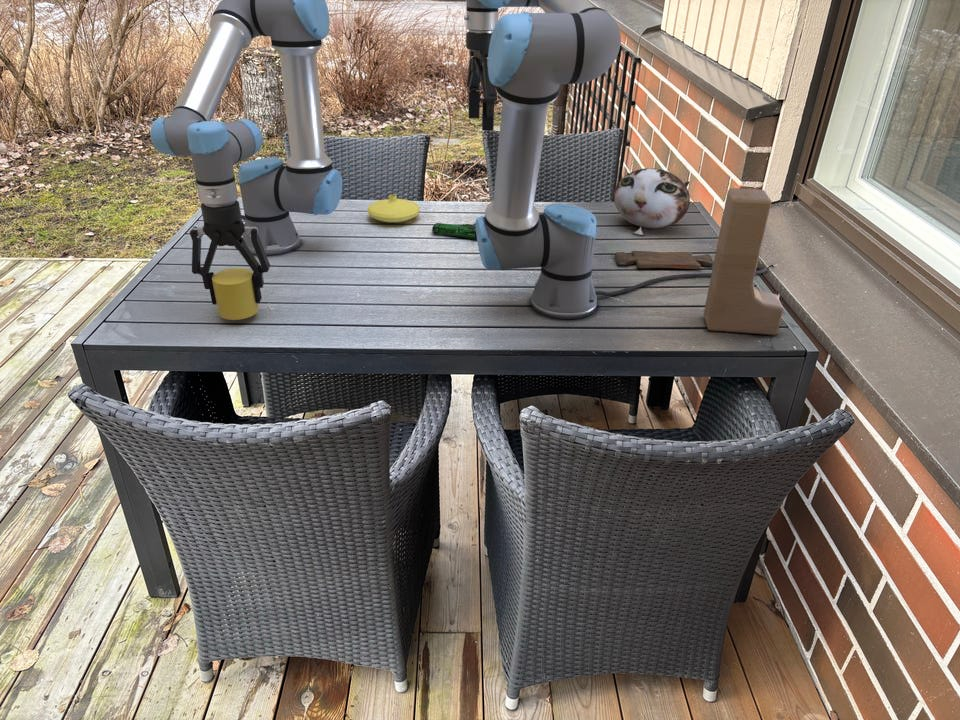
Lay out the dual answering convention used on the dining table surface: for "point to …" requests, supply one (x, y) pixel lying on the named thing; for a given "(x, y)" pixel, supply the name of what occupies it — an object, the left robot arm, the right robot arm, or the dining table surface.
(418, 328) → the dining table surface
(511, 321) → the dining table surface
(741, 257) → the decorative block
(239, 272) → the canister
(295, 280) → the dining table surface
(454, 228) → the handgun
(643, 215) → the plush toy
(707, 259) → the wooden paddle board
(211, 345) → the dining table surface
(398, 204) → the yellow pot lid
